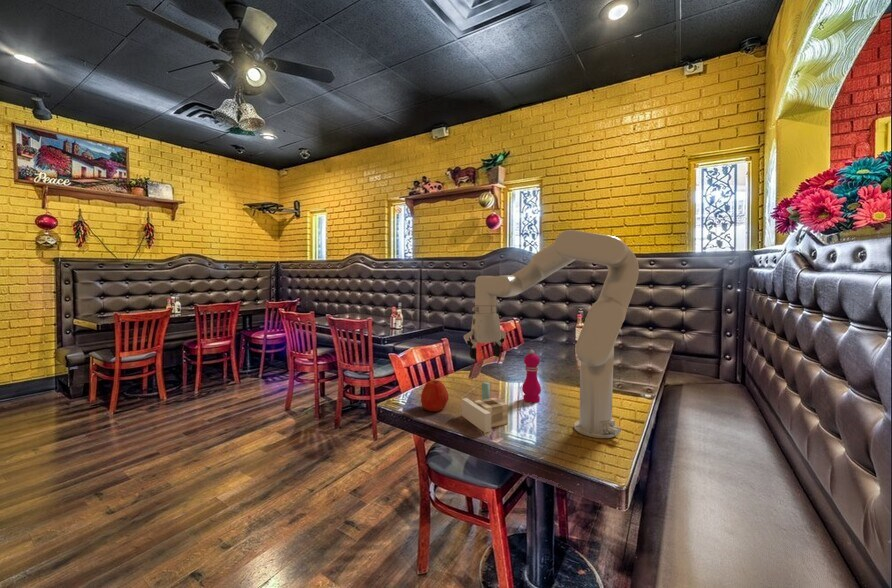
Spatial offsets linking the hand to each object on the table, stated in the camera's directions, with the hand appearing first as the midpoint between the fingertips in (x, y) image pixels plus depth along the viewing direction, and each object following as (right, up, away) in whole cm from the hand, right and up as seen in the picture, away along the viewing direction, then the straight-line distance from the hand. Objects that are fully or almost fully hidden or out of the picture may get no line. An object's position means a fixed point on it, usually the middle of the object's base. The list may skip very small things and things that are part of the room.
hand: (485, 357), depth 134 cm
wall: (-4, -20, -11) cm, 23 cm away
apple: (-18, -20, +3) cm, 27 cm away
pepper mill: (+19, -19, +12) cm, 30 cm away
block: (+1, -20, -10) cm, 22 cm away
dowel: (0, -19, +1) cm, 19 cm away
